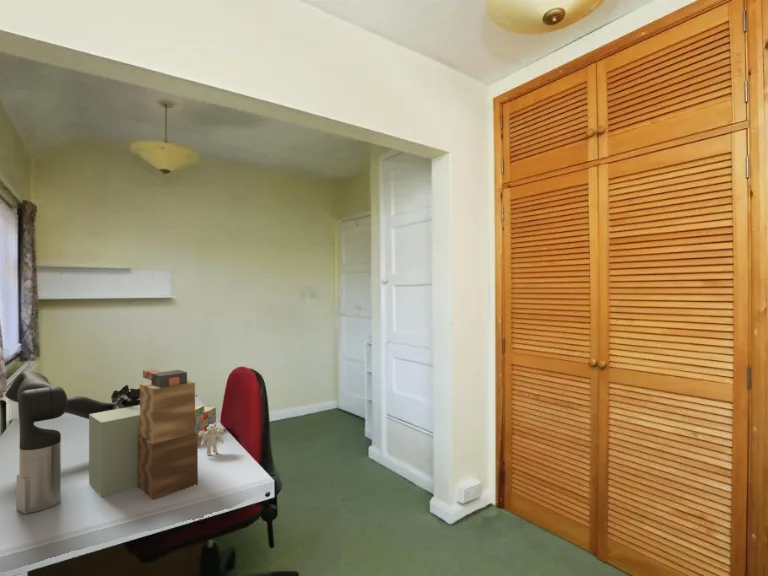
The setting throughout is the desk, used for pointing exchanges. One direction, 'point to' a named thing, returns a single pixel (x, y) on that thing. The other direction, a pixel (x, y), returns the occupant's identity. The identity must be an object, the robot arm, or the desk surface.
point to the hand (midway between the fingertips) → (141, 385)
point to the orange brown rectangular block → (165, 377)
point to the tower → (167, 439)
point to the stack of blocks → (204, 418)
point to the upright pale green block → (114, 450)
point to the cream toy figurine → (211, 437)
